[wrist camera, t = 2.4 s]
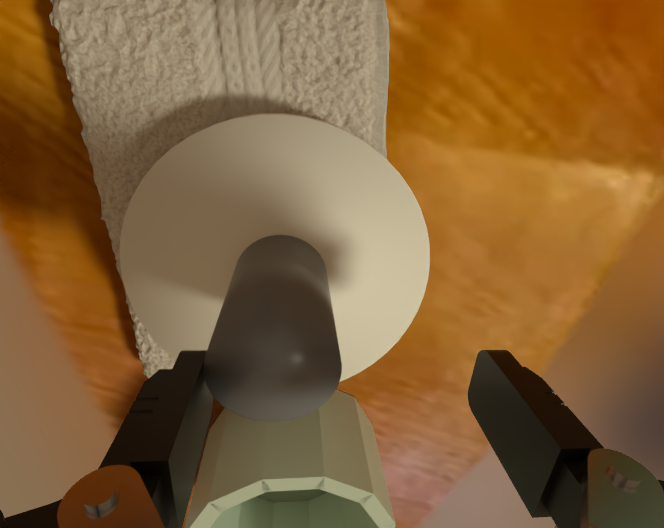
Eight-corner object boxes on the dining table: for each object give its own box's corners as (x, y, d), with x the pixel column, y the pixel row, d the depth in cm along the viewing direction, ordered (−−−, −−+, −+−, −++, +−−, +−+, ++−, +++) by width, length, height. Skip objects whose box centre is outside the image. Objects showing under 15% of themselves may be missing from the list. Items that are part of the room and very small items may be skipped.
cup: (203, 382, 21) (173, 483, 16) (378, 379, 22) (406, 472, 17) (216, 498, 25) (195, 610, 20) (362, 490, 26) (381, 594, 21)
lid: (106, 101, 13) (-64, 111, 7) (444, 123, 14) (557, 147, 8) (153, 376, 18) (80, 524, 12) (400, 374, 19) (449, 506, 13)
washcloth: (164, 370, 21) (145, 412, 19) (59, -14, 14) (-1, -41, 11) (370, 353, 22) (381, 390, 19) (377, -17, 15) (397, -42, 12)
